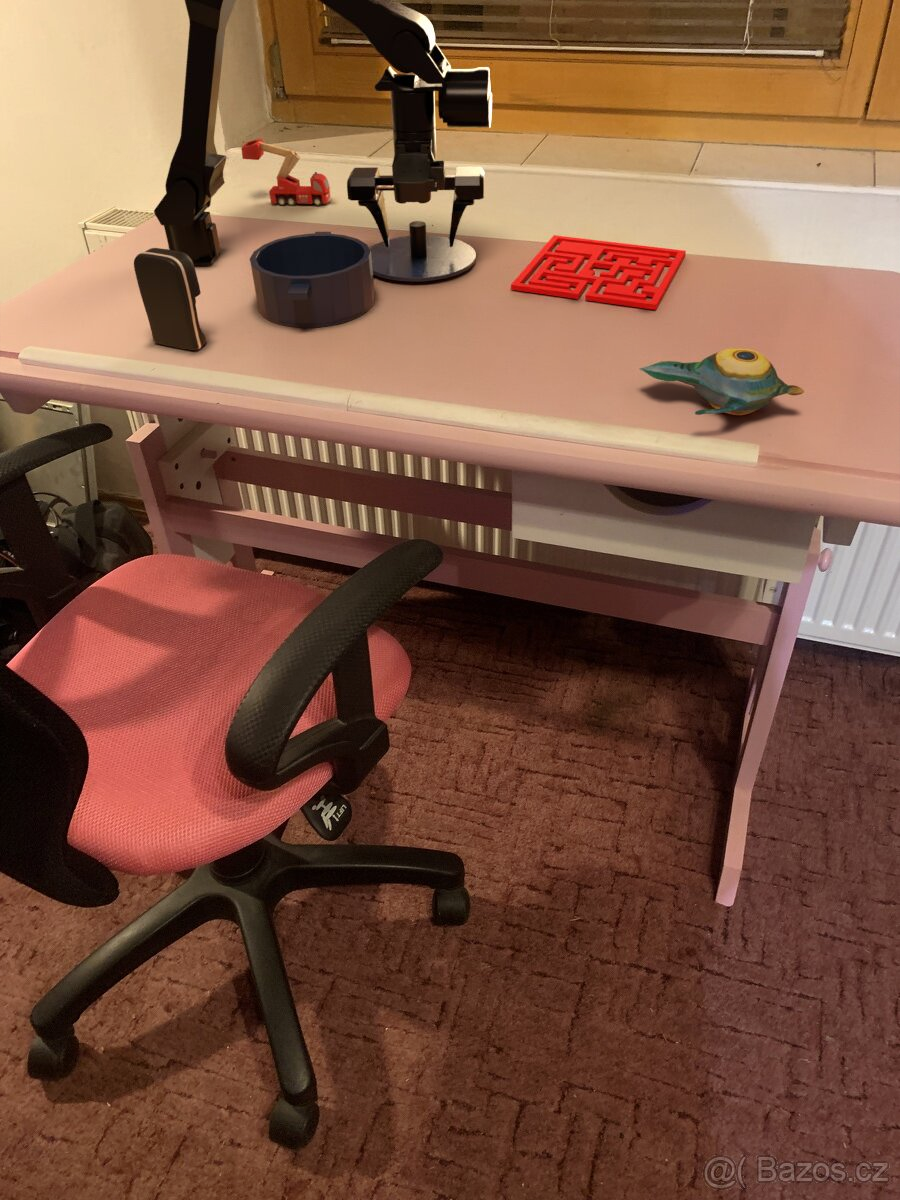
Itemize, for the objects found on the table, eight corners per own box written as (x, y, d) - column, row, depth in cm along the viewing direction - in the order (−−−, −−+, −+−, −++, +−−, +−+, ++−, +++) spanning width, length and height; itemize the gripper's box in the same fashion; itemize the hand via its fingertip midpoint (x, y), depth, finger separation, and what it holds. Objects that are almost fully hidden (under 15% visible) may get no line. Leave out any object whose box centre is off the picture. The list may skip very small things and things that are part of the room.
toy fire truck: (329, 206, 149) (322, 144, 142) (249, 205, 150) (239, 143, 143) (333, 200, 151) (326, 138, 145) (255, 199, 152) (245, 138, 146)
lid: (355, 286, 123) (352, 245, 120) (369, 242, 136) (366, 204, 132) (474, 285, 122) (474, 244, 119) (477, 242, 135) (477, 203, 131)
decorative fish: (729, 368, 103) (740, 319, 99) (798, 417, 94) (813, 366, 90) (634, 391, 99) (640, 341, 95) (696, 444, 91) (706, 392, 87)
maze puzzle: (510, 289, 121) (510, 284, 120) (553, 239, 134) (553, 235, 134) (655, 309, 115) (656, 304, 114) (685, 255, 129) (685, 250, 128)
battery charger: (215, 340, 111) (196, 249, 104) (197, 353, 109) (176, 260, 101) (170, 331, 114) (148, 241, 106) (151, 344, 111) (127, 252, 103)
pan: (242, 337, 112) (233, 287, 108) (275, 272, 128) (267, 226, 123) (364, 337, 111) (359, 286, 107) (382, 272, 127) (378, 226, 122)
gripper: (335, 145, 112) (347, 268, 122) (483, 143, 111) (482, 267, 121) (347, 122, 120) (358, 238, 130) (484, 120, 119) (484, 238, 129)
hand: (419, 246), depth 127 cm, fingers open, 9 cm apart
